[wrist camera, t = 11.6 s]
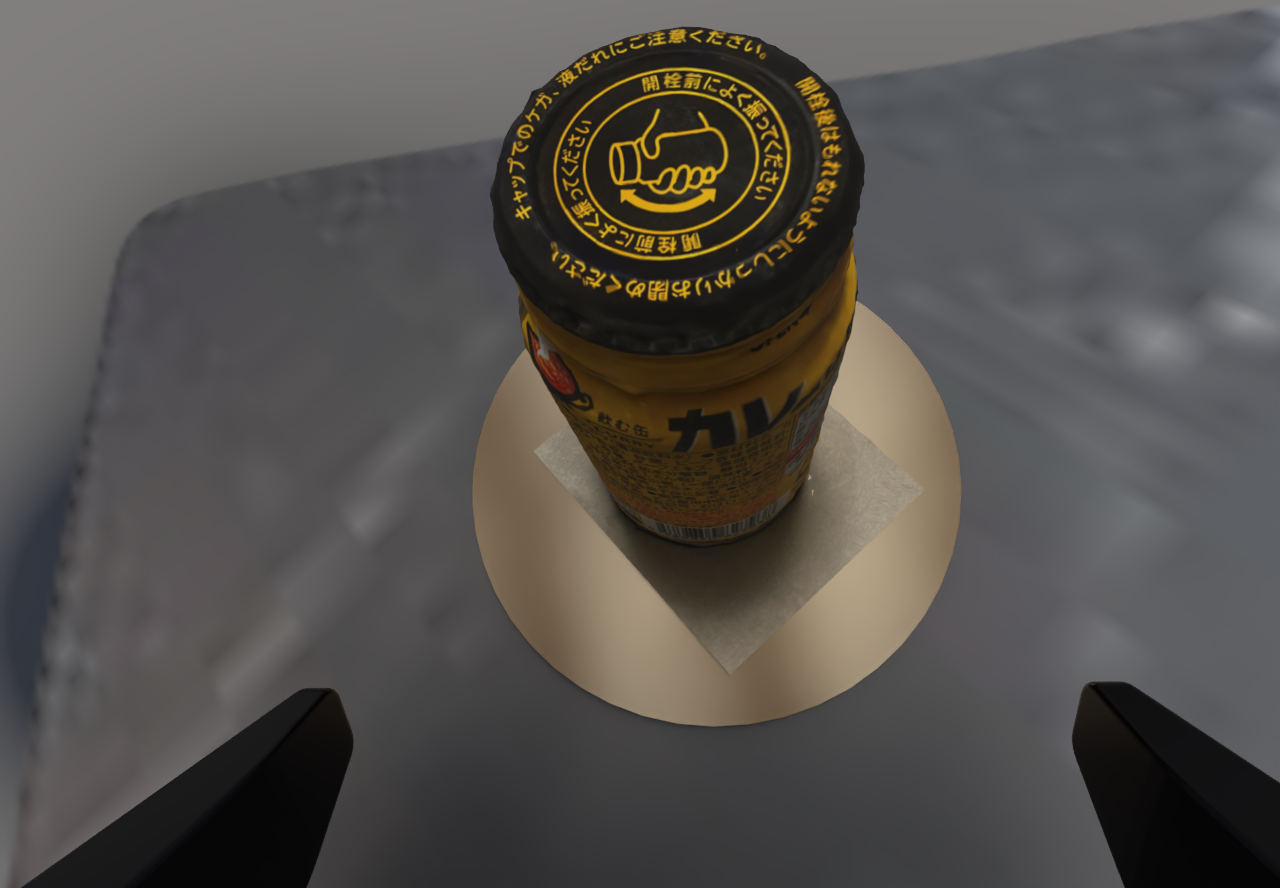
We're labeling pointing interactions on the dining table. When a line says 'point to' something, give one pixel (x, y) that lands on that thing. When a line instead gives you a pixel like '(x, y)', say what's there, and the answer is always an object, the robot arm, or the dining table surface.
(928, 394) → the beige round plate
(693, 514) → the condiment
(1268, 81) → the dining table surface
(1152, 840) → the robot arm
